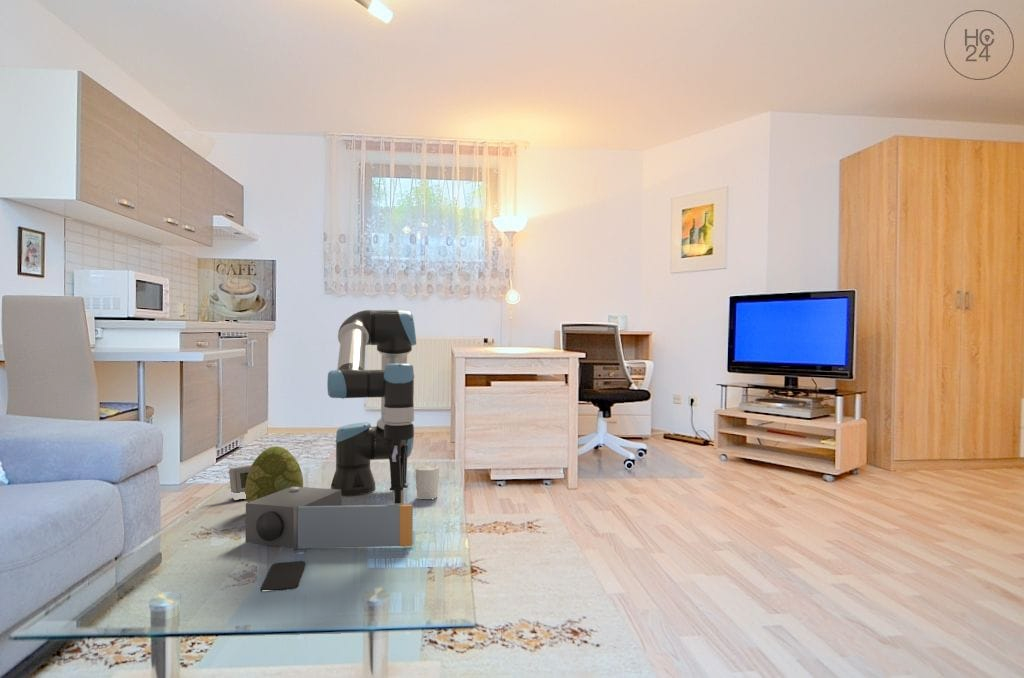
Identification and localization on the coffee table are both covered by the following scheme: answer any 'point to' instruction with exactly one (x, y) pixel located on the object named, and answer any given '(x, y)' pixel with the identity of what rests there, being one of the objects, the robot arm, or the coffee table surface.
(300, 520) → the side door
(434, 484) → the white cup
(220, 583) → the coffee table surface
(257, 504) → the camera body
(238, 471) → the digital clock
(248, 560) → the coffee table surface
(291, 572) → the phone
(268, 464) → the decorative sculpture
